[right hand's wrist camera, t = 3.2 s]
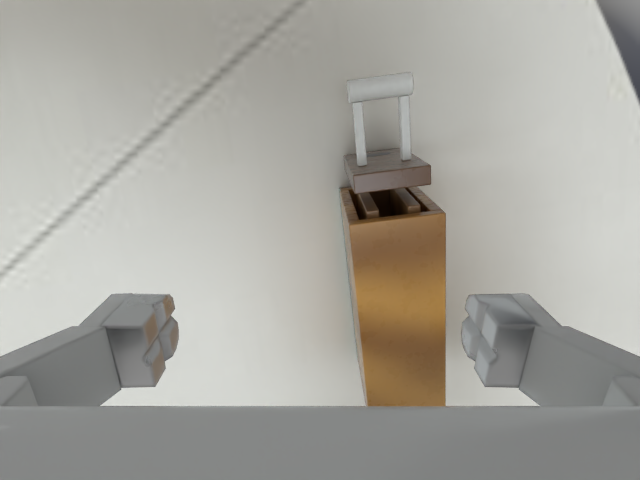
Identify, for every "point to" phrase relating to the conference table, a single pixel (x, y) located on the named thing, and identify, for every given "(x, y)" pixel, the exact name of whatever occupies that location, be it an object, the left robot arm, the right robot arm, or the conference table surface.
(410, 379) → the cabinet
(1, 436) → the right robot arm
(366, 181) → the drawer
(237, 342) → the conference table surface
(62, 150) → the conference table surface
